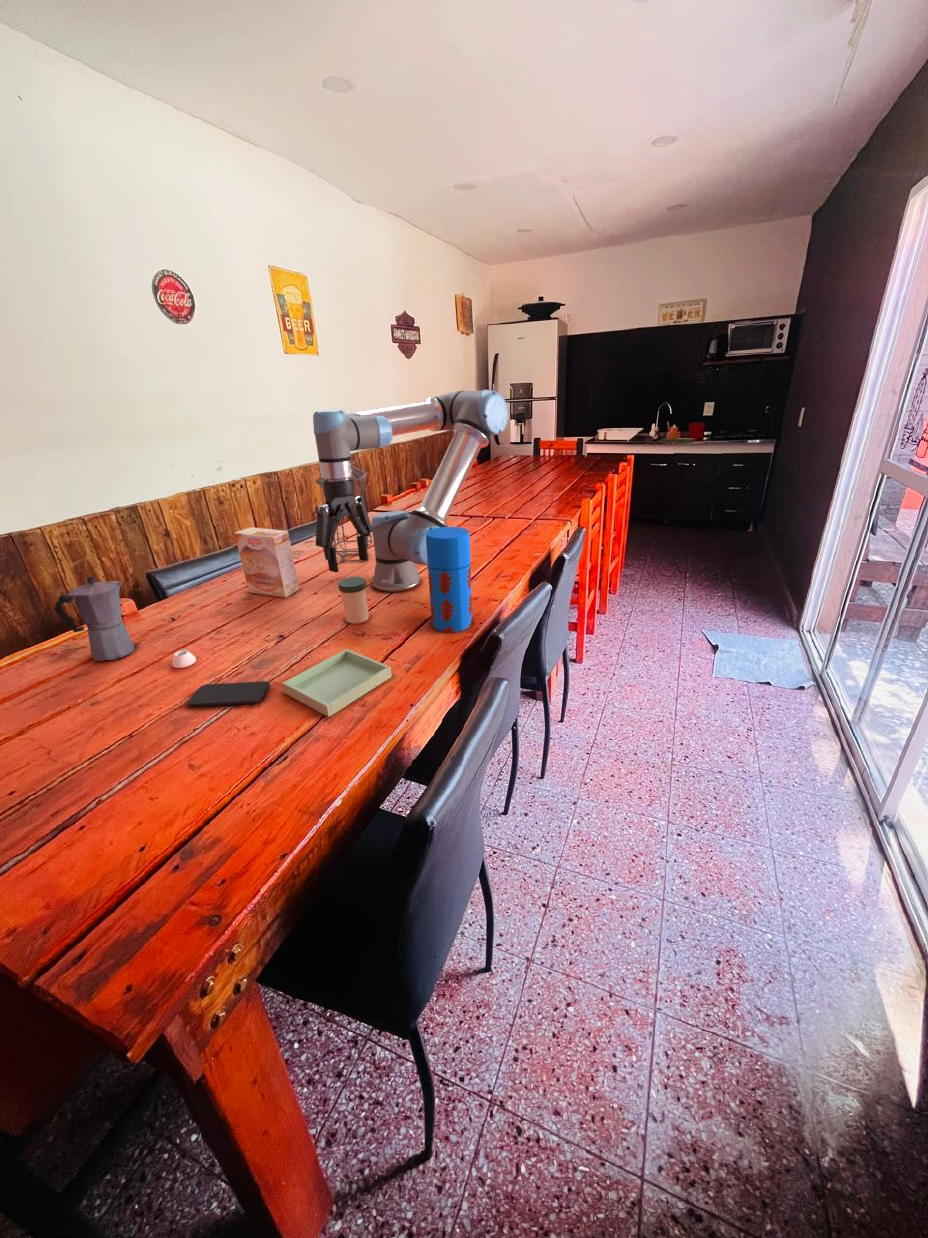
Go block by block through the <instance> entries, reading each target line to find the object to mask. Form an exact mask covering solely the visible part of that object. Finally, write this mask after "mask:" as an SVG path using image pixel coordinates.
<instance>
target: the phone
mask: <svg viewBox="0 0 928 1238" xmlns="http://www.w3.org/2000/svg"><path fill="white" fill-rule="evenodd" d="M270 686H271V685H270V682H269V681H266V680H262V681H248V682H247V681H245V682H225V683H224V682H223V683H209V684H202V685H200V686H199V687H198V689H196V691H195V692H194V694H193V695H192V696H191V697H190V698H189V699H188V701H187V705H188V706H189V707H193V708H194V707H195V708H196V707H211V706H212V707H214V706H215V707H216V706H230V705H249V704H250V705H251V704H258V703H260V702H261V701H262V700H263V699H264V697H265V695H266V693H267V691H268V690H269V688H270Z"/></svg>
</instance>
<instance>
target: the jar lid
mask: <svg viewBox="0 0 928 1238" xmlns="http://www.w3.org/2000/svg"><path fill="white" fill-rule="evenodd" d="M337 584H338V590H339V591H340V593H341V592H344V593H355V592H360V591H362V590H364V589H365V590H366V589H367V587H368V584H367V579H366V578H365V577H362V576H349V577H345V578H342V579H340V580H338V582H337Z"/></svg>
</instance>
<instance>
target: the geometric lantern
mask: <svg viewBox="0 0 928 1238" xmlns="http://www.w3.org/2000/svg"><path fill="white" fill-rule="evenodd" d="M358 471H359V472H358ZM352 472H353V476H352V477H351V478H352V479H353V481H354V483H356V482H358V485H359V490H358V489H357V487H356V485H355V484H354V489H355V491H357V494H358V495H357V496H360V497H364V498H365V486H366V484H365V483H366V480H367V475H368V472H366V471H364V470H362V469H360V468H358V467H356V466H354V465H352ZM323 480H324V479H323V478H322V477H321V476H320V477H319V478H318V479H316V480H315V482H316V484H318V485H319V486H320V487H321V488H323V485H322V482H323ZM361 490H362V494H361ZM355 496H356V495H354V497H355ZM328 513H329V510H328ZM328 513H327V514H328ZM343 519H344V518H341V519H340V523H341V531H342V539H343V540H341V541H340V535H339V524H338V525H337V529H336V535H335V536H334V540H333V545H334V546H333V547H335V551H336V555H338V556H340V559H341V560H340V561H342V562H364V561H363V560H359V559H345V557H359V552H358V547H356V548H347V545H346V543H357V539H356V540H355V539H354V540H353V539H352V540H346V537H345V529H344V528H345V527H344V520H343ZM355 530H356V529H355ZM355 533H356V537H357V536H360V535H359V534H358V532H357V530H356V531H355ZM369 538H370V539H369ZM336 539H337V542H336ZM367 539H368V547H367V550H368V549H369V548H370V547H371V545H372V543H373V536H372V532H370V536H369V537H367ZM342 544H344V547H343V546H342ZM338 545H339V546H340V548H341V549H342V550H338V549H337V547H338Z"/></svg>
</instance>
